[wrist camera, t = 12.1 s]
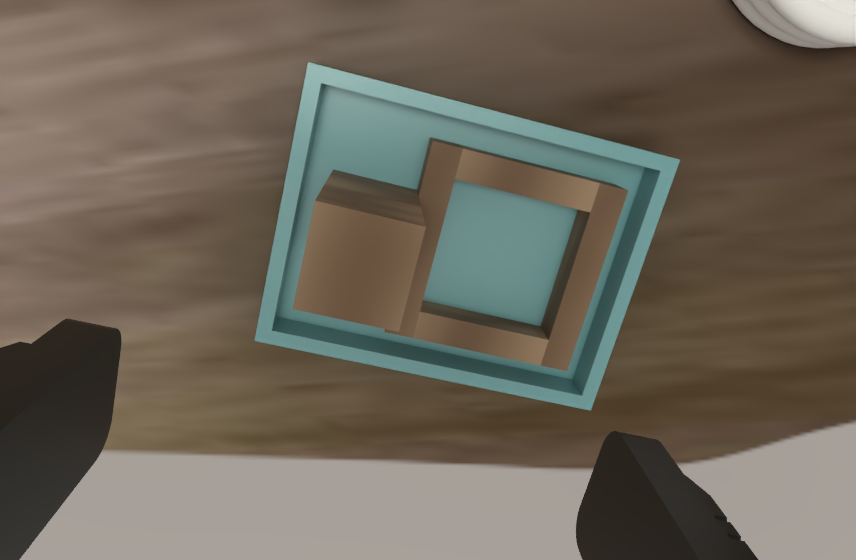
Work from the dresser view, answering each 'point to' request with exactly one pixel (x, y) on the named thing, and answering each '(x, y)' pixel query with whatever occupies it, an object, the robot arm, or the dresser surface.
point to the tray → (461, 231)
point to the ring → (417, 242)
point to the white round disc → (804, 21)
